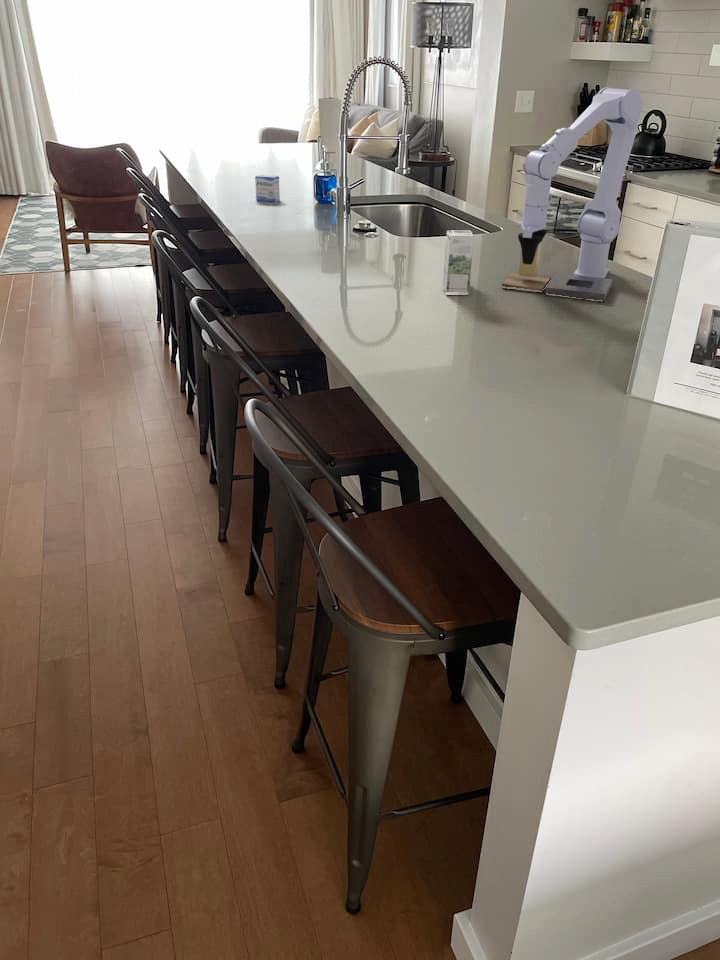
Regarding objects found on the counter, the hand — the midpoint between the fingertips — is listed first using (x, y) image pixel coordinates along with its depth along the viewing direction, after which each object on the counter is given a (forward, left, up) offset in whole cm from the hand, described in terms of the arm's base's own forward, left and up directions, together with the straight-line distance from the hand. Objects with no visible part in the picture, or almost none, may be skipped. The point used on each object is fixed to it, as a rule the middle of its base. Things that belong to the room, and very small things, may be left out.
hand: (529, 261), depth 196 cm
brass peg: (0, 0, -3) cm, 3 cm away
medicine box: (-73, -112, -6) cm, 134 cm away
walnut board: (0, 0, -6) cm, 6 cm away
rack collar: (0, +13, -6) cm, 14 cm away
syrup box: (+14, -14, -6) cm, 21 cm away
